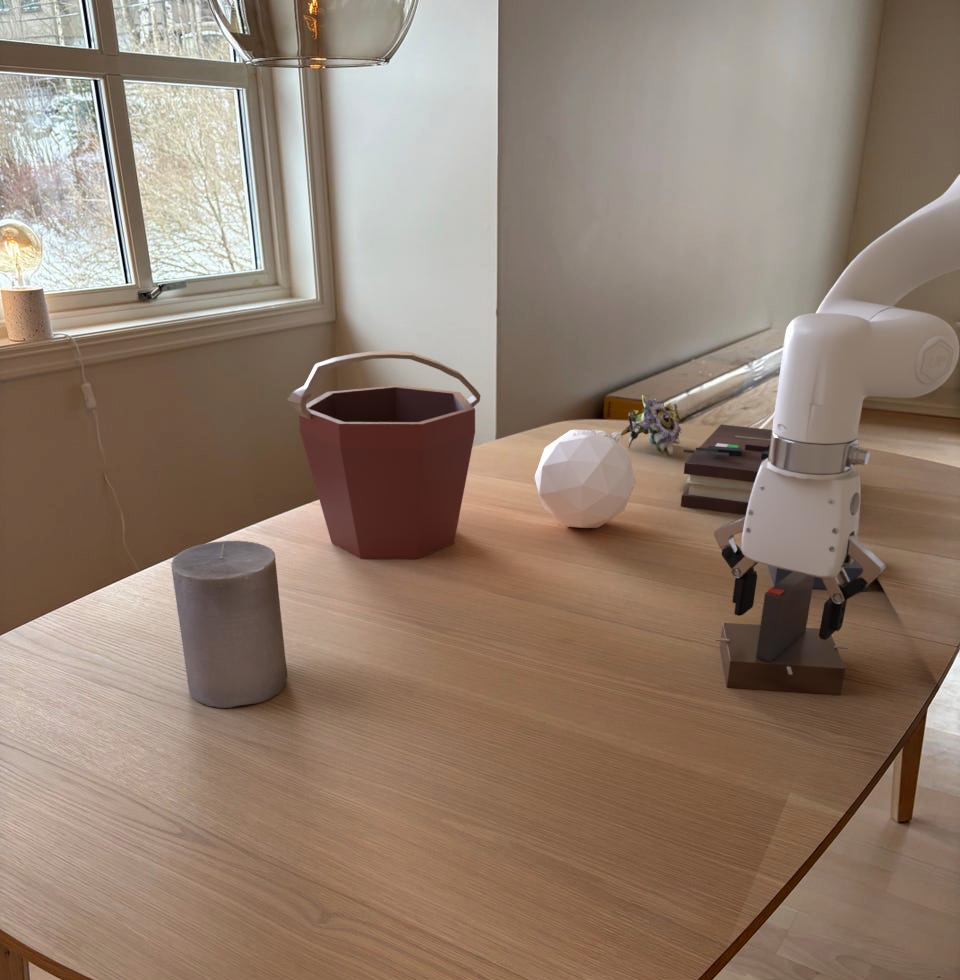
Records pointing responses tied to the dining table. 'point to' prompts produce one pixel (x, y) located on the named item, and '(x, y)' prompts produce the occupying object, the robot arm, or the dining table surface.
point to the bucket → (388, 460)
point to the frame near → (784, 614)
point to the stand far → (851, 572)
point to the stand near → (781, 662)
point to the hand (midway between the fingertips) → (784, 622)
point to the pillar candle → (230, 622)
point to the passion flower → (656, 425)
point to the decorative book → (725, 469)
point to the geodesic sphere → (585, 478)
